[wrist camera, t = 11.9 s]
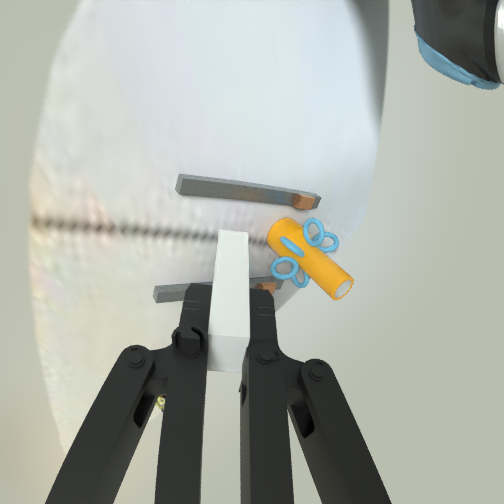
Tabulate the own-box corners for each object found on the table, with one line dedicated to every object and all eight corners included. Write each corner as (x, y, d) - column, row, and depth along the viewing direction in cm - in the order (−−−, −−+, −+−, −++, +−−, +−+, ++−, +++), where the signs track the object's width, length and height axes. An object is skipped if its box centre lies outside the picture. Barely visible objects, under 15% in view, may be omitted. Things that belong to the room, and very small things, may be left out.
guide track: (153, 296, 42) (158, 307, 40) (178, 173, 34) (185, 181, 32) (275, 284, 57) (282, 292, 55) (315, 193, 48) (325, 200, 46)
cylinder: (317, 221, 53) (378, 270, 43) (282, 266, 55) (335, 321, 45) (280, 191, 44) (352, 244, 34) (238, 245, 46) (298, 311, 36)
